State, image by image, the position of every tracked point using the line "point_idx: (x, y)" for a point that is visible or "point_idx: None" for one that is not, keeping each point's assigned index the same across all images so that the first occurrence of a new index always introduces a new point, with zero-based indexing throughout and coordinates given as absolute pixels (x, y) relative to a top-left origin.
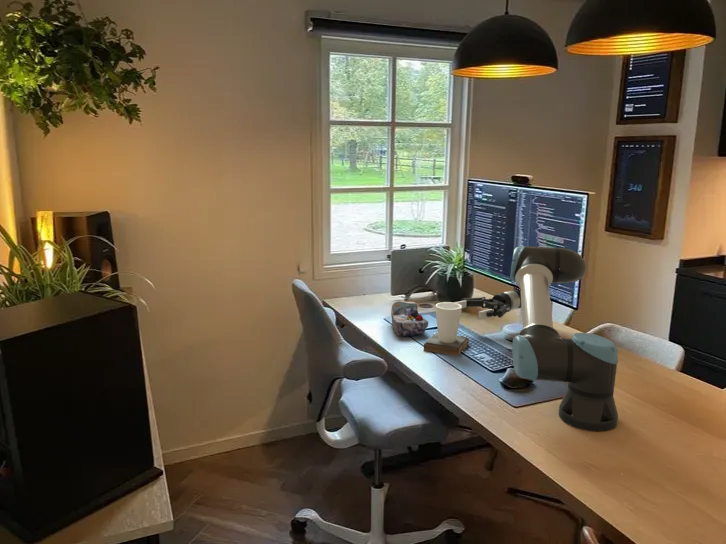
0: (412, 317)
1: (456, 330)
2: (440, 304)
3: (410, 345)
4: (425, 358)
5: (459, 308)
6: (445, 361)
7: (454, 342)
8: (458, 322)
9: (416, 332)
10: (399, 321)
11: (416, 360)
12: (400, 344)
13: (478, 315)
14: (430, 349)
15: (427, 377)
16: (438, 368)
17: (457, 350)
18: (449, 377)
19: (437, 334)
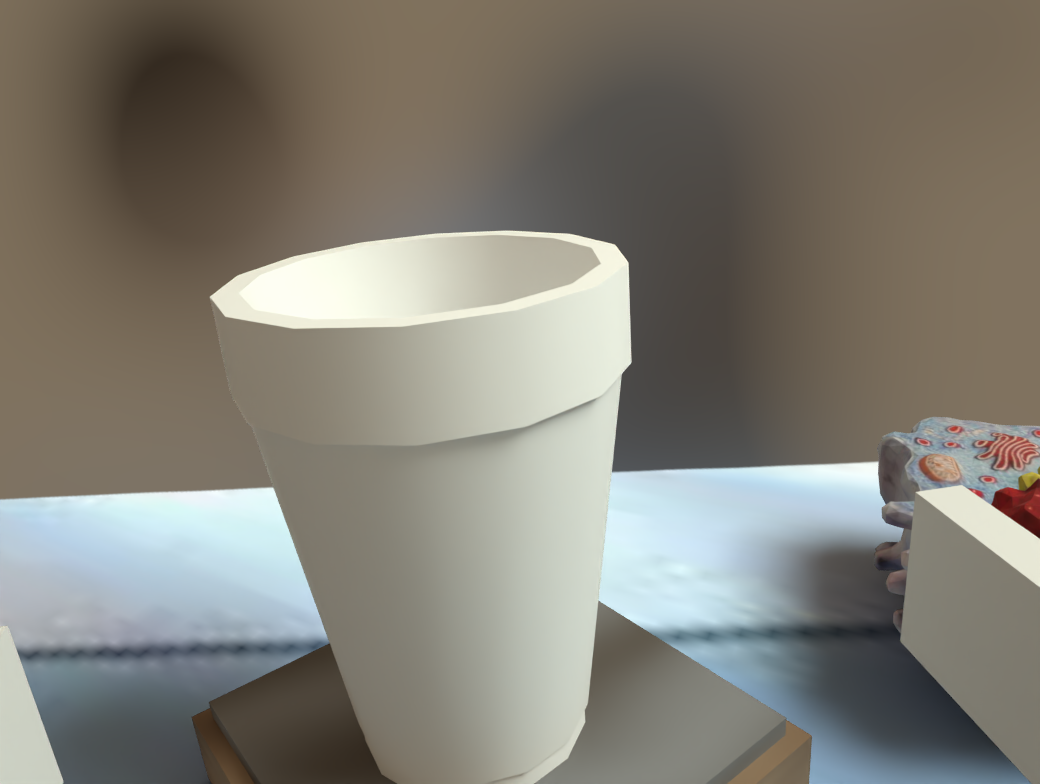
0: (1032, 478)
1: (325, 625)
2: (590, 268)
3: (676, 572)
4: None
5: (213, 302)
6: (217, 645)
7: (352, 740)
8: (294, 536)
9: (900, 613)
10: (941, 428)
11: None
12: (720, 533)
13: (34, 711)
14: None
15: (136, 503)
16: (169, 573)
17: (205, 717)
18: (14, 573)
19: (698, 696)
